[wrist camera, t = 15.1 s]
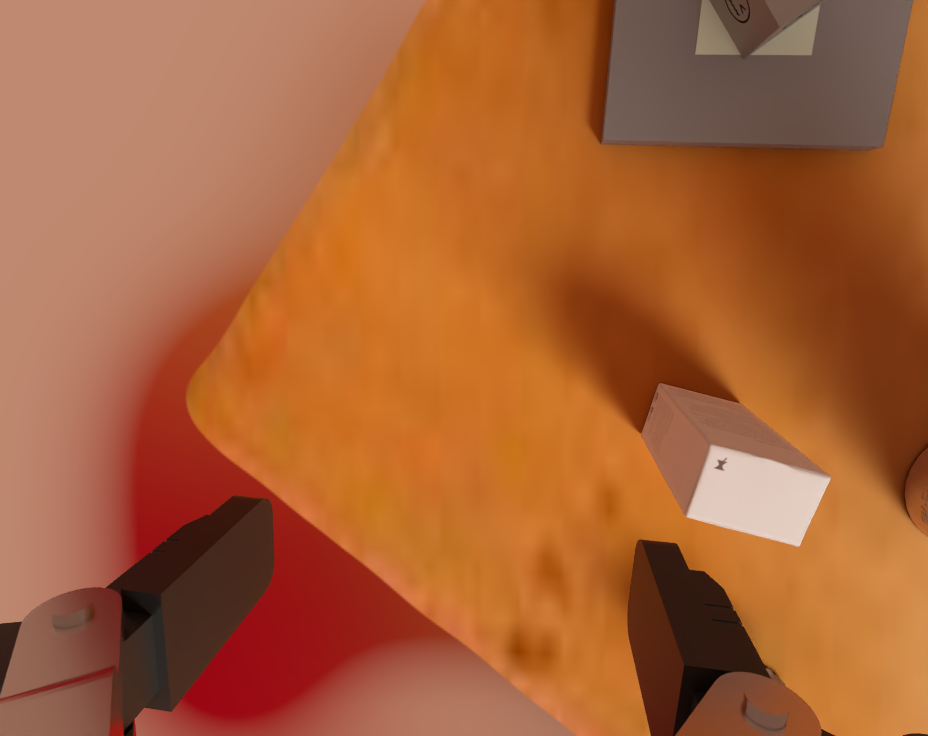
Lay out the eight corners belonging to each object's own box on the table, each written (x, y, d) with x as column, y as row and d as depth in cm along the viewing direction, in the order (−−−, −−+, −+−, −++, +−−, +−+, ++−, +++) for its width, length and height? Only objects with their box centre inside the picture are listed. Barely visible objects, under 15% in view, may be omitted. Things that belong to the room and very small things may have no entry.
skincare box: (638, 436, 40) (680, 517, 28) (657, 380, 38) (709, 441, 27) (723, 459, 39) (801, 551, 27) (745, 403, 38) (835, 474, 26)
